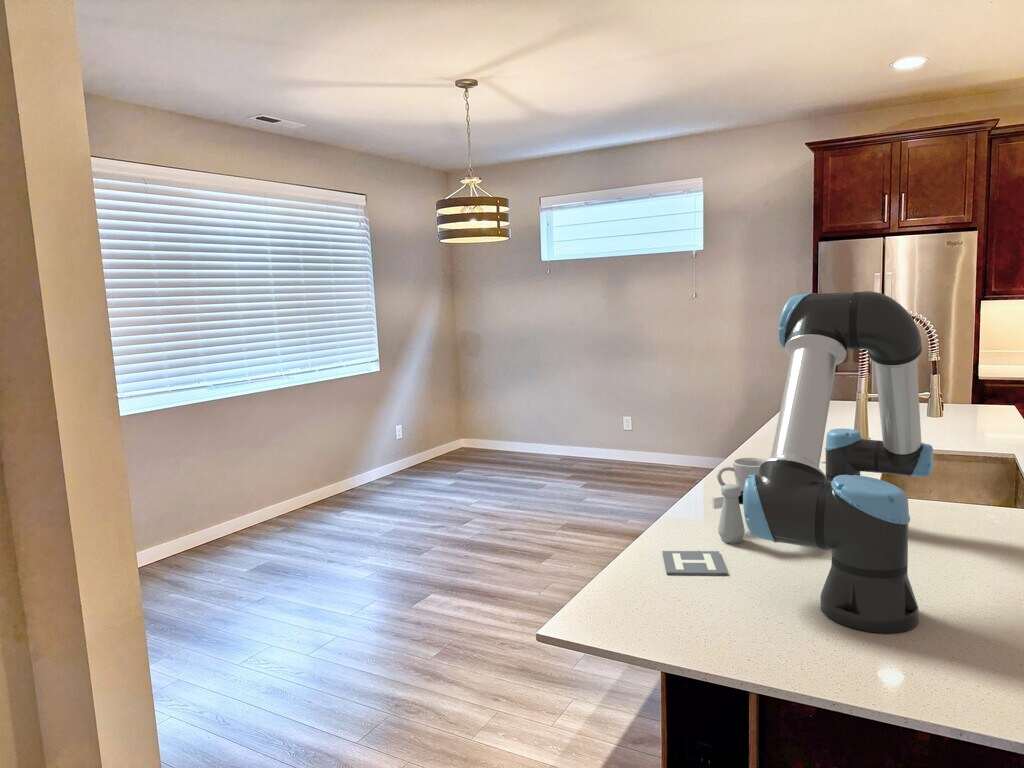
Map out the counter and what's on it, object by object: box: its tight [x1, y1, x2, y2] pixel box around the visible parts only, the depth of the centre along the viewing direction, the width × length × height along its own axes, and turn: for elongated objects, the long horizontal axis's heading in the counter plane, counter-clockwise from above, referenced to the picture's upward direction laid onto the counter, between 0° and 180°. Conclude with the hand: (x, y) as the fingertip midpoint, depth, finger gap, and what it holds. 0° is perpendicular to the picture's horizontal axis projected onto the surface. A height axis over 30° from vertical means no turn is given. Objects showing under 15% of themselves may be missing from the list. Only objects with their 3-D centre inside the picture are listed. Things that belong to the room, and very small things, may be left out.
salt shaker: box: [717, 483, 746, 545], centre depth 157 cm, size 6×6×13 cm
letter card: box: [661, 550, 729, 576], centre depth 146 cm, size 12×12×1 cm
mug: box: [716, 457, 767, 491], centre depth 190 cm, size 10×15×10 cm
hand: (729, 511), depth 158 cm, fingers open, 13 cm apart
